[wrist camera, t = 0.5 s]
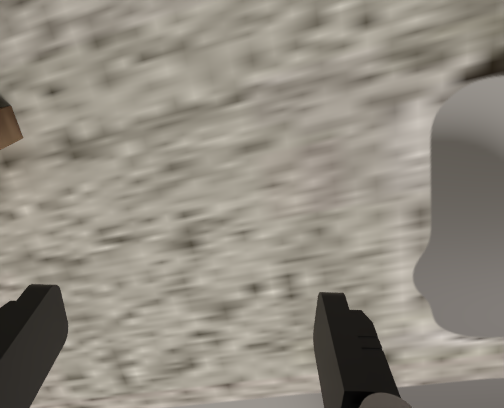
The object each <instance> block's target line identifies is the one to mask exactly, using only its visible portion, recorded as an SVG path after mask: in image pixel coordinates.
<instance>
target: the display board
mask: <svg viewBox="0 0 504 408" xmlns="http://www.w3.org/2000/svg"><path fill="white" fill-rule="evenodd" d="M22 138H23V136H22V133H21V131H20V128H19V125H18V123H17V120H16V118H15V115H14V112H13V110H12V107H11V106H7V107H0V150H1V149H3V148H5V147H7V146H9V145H11V144H13V143H15V142H17V141H19V140H21V139H22Z"/></svg>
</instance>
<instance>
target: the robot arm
mask: <svg viewBox="0 0 504 408" xmlns="http://www.w3.org/2000/svg"><path fill="white" fill-rule="evenodd" d="M67 334H68V321H67V317H66V312H65V308H64V303H63V299H62V294H61V290H60V288H59V286H58V285H43V284H31V285H29V286H28V287H27V288H26V289H25V291H24V292H23V293H22V294H21V296H20V297H19V298H18V300H17V301H9V302H8V303H7V304H5V305H4V306H2V307H1V308H0V408H29V407H30V406H31V404H32V402H33V400H34V398H35V397H36V395H37V393H38V391H39V389H40V387H41V386H42V384H43V382H44V380H45V378H46V376H47V375H48V373H49V371H50V369H51V367H52V366H53V364H54V362H55V360H56V358H57V356H58V355H59V353H60V351H61V349H62V347H63V345H64V344H65V341H66V338H67ZM313 342H314V352H315V358H316V363H317V369H318V375H319V380H320V386H321V392H322V397H323V403H324V408H412V407H411V406H410V405H409V404H408V403H407V402H406V401H404V400H403V399H401V397H400V395H399V392H398V389H397V387H396V384H395V381H394V379H393V376H392V373H391V371H390V368H389V365H388V363H387V360H386V357H385V354H384V352H383V351H382V346H381V344H380V341H379V339H378V336H377V333H376V330H375V328H374V325H373V322H372V321H371V320H370V319H369V318H368V317H367V316H366V315H365V314H364V313H363V312H362V310H349V307H348V304H347V300H346V297H345V295H344V293H329V292H320V293H319V295H318V300H317V308H316V316H315V323H314V333H313Z"/></svg>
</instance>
